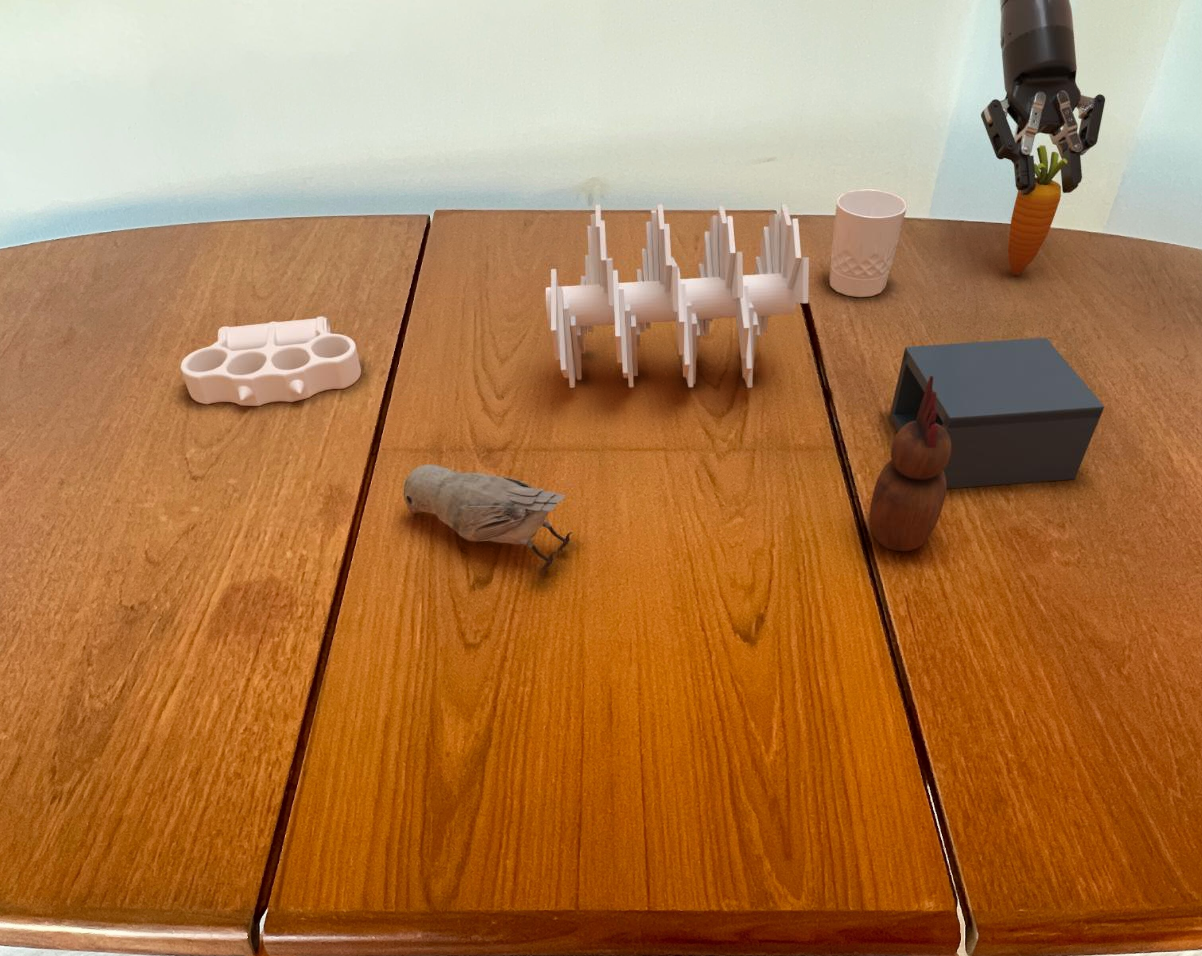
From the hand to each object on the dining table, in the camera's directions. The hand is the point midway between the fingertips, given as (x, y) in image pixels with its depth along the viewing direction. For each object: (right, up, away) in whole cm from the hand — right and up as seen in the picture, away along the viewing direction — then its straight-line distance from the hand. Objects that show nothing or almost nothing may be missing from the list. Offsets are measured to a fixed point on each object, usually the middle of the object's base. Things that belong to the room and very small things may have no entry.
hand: (1049, 190), depth 111 cm
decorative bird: (-61, -41, -25) cm, 78 cm away
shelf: (-14, -32, -16) cm, 38 cm away
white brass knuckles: (-86, -22, -5) cm, 89 cm away
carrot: (0, -7, +9) cm, 11 cm away
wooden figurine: (-25, -41, -25) cm, 55 cm away
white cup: (-20, -8, +8) cm, 23 cm away
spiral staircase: (-44, -22, -6) cm, 50 cm away
